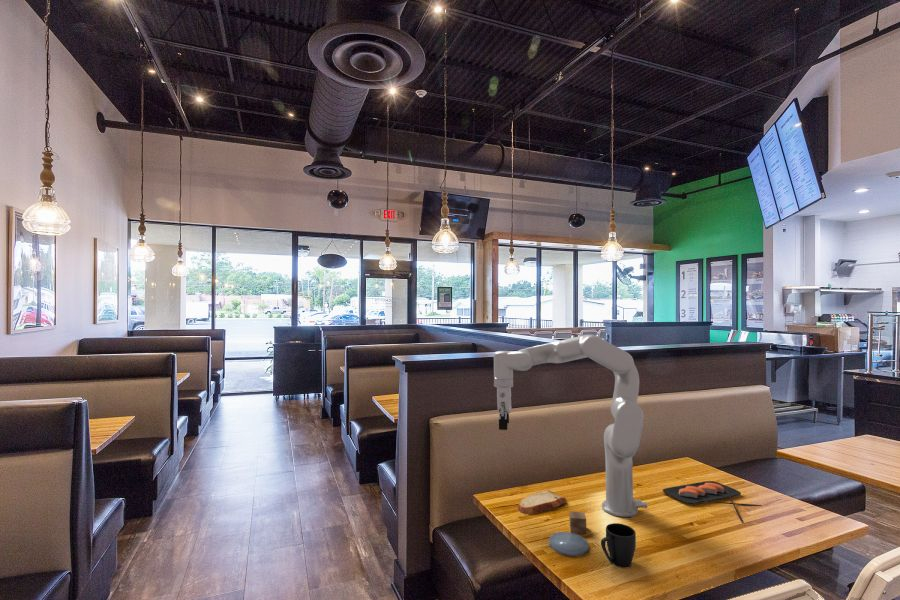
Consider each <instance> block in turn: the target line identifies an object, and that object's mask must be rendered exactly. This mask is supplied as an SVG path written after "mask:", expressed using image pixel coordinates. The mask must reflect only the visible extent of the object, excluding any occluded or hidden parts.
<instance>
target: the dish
mask: <svg viewBox="0 0 900 600" xmlns="http://www.w3.org/2000/svg"><path fill="white" fill-rule="evenodd" d="M548 545H549V547H550V546H551V547H550V548H551V549H552V548H553V549H554V550H555V551H554V550H553V549H552V550H553V551H554V552H556V551H557V552H559V553H558V554H560V553H561V555H562V554H563V555H564V556H567V555H568V556H567V557H579V555H581V556H583V555H586V554H587V553H588V552H589V542H588V540H587V539H586V538H585V537H584V536H581V535H580V534H578V533H571V532H568V531H567V532H566V531H560V532H555V533H553V534H552V535H550V536H549V539H548ZM557 552H556V553H557ZM563 555H562V556H563Z"/></svg>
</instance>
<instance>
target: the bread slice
mask: <svg viewBox="0 0 900 600" xmlns="http://www.w3.org/2000/svg"><path fill="white" fill-rule="evenodd" d="M566 502H567V498H566V497H564V496H561V495H558V494H557V493H556V492H553V491H550V490H544V491H537V492H534V493H531V494H528V495H527V496H526V497H524V498H522V499H521V500H520V501H519V503H518V506H517V509H518V511H519V513H520V514H523V515H533V514H537V513H541V512H547V511H549V510H552V509H557V508H558V507H560V506H562V505H564V504H566Z"/></svg>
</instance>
